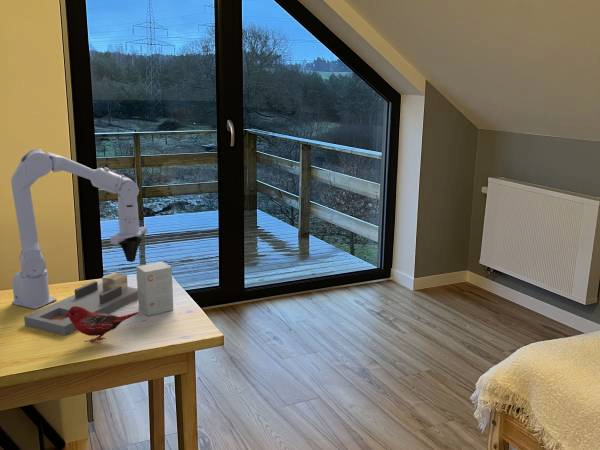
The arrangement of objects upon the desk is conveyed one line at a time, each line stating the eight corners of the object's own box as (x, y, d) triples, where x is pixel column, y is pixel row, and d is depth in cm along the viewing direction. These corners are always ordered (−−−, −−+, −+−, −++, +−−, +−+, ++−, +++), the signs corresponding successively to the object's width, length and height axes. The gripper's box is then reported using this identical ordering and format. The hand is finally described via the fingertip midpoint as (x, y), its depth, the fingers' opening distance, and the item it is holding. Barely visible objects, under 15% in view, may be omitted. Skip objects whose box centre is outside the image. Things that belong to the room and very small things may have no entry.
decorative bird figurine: (66, 343, 144) (63, 305, 142) (139, 332, 151) (137, 296, 149) (66, 348, 142) (63, 309, 139) (141, 336, 149) (139, 300, 146)
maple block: (102, 289, 174) (102, 277, 173) (114, 284, 178) (113, 272, 177) (116, 292, 172) (115, 279, 171) (127, 287, 176) (126, 274, 175)
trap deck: (24, 325, 154) (23, 307, 153) (104, 289, 181) (103, 274, 180) (65, 335, 149) (63, 317, 148) (141, 297, 175) (140, 281, 174)
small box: (164, 303, 171) (162, 260, 168) (174, 310, 166) (172, 266, 163) (137, 309, 166) (135, 265, 163) (146, 316, 161) (144, 272, 158)
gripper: (122, 224, 169) (125, 269, 172) (154, 214, 181) (156, 256, 185) (103, 222, 171) (106, 266, 175) (136, 212, 184) (138, 253, 188)
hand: (130, 260), depth 180 cm, fingers closed
